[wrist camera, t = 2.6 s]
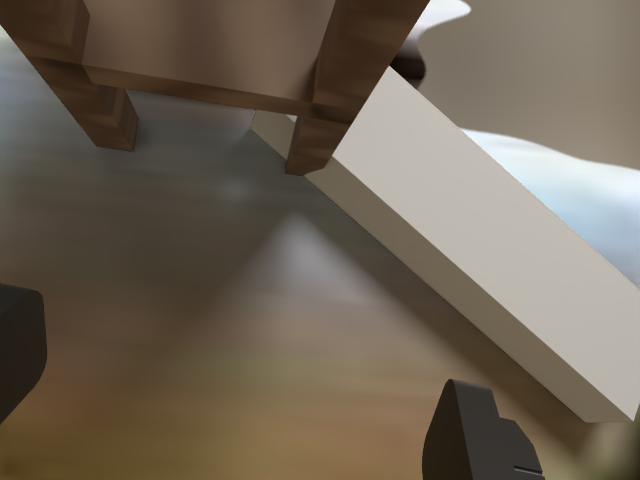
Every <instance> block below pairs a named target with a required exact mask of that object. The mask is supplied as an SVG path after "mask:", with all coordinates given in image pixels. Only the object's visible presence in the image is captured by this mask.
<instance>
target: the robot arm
mask: <svg viewBox="0 0 640 480" xmlns="http://www.w3.org/2000/svg"><path fill="white" fill-rule="evenodd" d="M46 360H47V344H46V331H45V318H44V305H43V298H42V296H41V294H40V293H39V292H38V291H35V290H30V289H26V288H21V287H16V286H11V285H7V284H2V283H0V424H1V423H2V422H3V421H4V420H5V419H6V418H7V417H8V415H9V414H10V413H11V412H12V411H13V410H14V409H15V408H16V406H17V405H18V404H19V403H20V402H21V401H22V400H23V399H24V398H25V396H26V395H27V394H28V393H29V392H30V391H31V390H32V389H33V387H34V386H35V385H36V384H37V382H38V381H39V379H40V377H41V375H42V373H43V371H44V368H45V365H46ZM422 473H423V480H545V477H543V476H542V469H541V466H540V463H539V460H538V457H537V454H536V451H535V449H534V446H533V444H532V443H531V441H530V440H529V439H528V438H527V436H526V435H525V434H524V432H523V431H522V430H521V428H520V427H519V426H518V425H517V423H516V422H515V421H514V420H509V419H504V418H500V417H499V414H498V410H497V407H496V403H495V400H494V396H493V393H492V390H491V389H490V388H489V387H487V386H482V385H477V384H473V383H468V382H463V381H458V380H454V379H449V380H448V381H447V382H446V384H445V386H444V389H443V391H442V394H441V397H440V399H439V402H438V405H437V408H436V410H435V413H434V416H433V418H432V421H431V424H430V427H429V429H428V432H427V435H426V438H425V442H424V448H423V456H422Z"/></svg>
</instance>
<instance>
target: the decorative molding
mask: <svg viewBox="0 0 640 480" xmlns="http://www.w3.org/2000/svg"><path fill="white" fill-rule="evenodd" d="M296 118H297V116H293V115H287V114H280V113H274V112H268V111H262V110H256V113H255V115H254V118H253V120H252V123H251V125H250V128H251V129H252V130H253V131H254V132H255V133H256V134H257V135H258V136H260V137H261V138H262V139H263V140H264V141H265V142H266V143H267V144H269V145H270V146H271V147H272V148H273V149H274V150H275V151H277V152H278V153H279V154H280V155H281V156H282V157H283V158H284V159H286V160H287V158H288V153H289V149H290V145H291V140H292V136H293V132H294V127H295V122H296ZM304 176H305V177H306V178H307V179H308V180H309V181H310V182H312V183H313V184H314V185H315V186H316V187H317V188H319V189H320V190H321V191H322V192H323V193H324V194H325V195H327V196H328V197H329V198H330V199H331V200H332V201H333V202H335V203H336V204H337V205H338V206H339V207H340V208H341V209H343V210H344V211H345V212H346V213H347V214H348V215H349V216H351V217H352V218H353V219H354V220H355V221H356V222H357V223H359V224H360V225H361V226H362V227H363V228H364V229H365V230H367V231H368V232H369V233H370V234H371V235H372V236H373V237H375V238H376V239H377V240H378V241H379V242H380V243H381V244H382V245H384V246H385V247H386V248H387V249H388V250H389V251H390V252H392V253H393V254H394V255H395V256H396V257H397V258H398V259H399V260H401V261H402V262H403V263H404V264H405V265H406V266H407V267H409V268H410V269H411V270H412V271H413V272H414V273H415V274H416V275H418V276H419V277H420V278H421V279H422V280H423V281H424V282H426V283H427V284H428V285H429V286H430V287H431V288H432V289H434V290H435V291H436V292H437V293H438V294H439V295H441V296H442V297H443V298H444V299H445V300H446V301H447V302H449V303H450V304H451V305H452V306H453V307H454V308H455V309H457V310H458V311H459V312H460V313H461V314H462V315H463V316H465V317H466V318H467V319H468V320H469V321H470V322H471V323H472V324H474V325H475V326H476V327H477V328H478V329H479V330H480V331H482V332H483V333H484V334H485V335H486V336H487V337H488V338H490V339H491V340H492V341H493V342H494V343H495V344H496V345H498V346H499V347H500V348H501V349H502V350H503V351H504V352H505V353H507V354H508V355H509V356H510V357H511V358H512V359H513V360H514V361H516V362H517V363H518V364H519V365H520V366H521V367H522V368H524V369H525V370H526V371H527V372H528V373H529V374H530V375H531V376H533V377H534V378H535V379H536V380H537V381H538V382H539V383H541V384H542V385H543V386H544V387H545V388H546V389H548V390H549V391H550V392H551V393H552V394H553V395H554V396H556V397H557V398H558V399H559V400H560V401H561V402H562V403H564V404H565V405H566V406H567V407H568V408H569V409H570V410H572V411H573V412H574V413H575V414H576V415H577V416H578V417H580V418H581V419H582V420H583V421H584V422H587V423H599V422H629V421H634V418H635V415H636V412H637V409H638V406H639V403H640V290H639V289H638V288H637V287H636V286H635V285H634V284H633V283H632V282H631V281H629V280H628V279H627V278H626V277H625V276H624V275H623V274H622V273H620V272H619V271H618V270H617V269H616V268H615V267H614V266H613V265H611V264H610V263H609V262H608V261H607V260H606V259H605V258H604V257H603V256H601V255H600V254H599V253H598V252H597V251H596V250H595V249H594V248H592V247H591V246H590V245H589V244H588V243H587V242H586V241H585V240H584V239H582V238H581V237H580V236H579V235H578V234H577V233H576V232H575V231H573V230H572V229H571V228H570V227H569V226H568V225H567V224H566V223H564V222H563V221H562V220H561V219H560V218H559V217H558V216H557V215H556V214H554V213H553V212H552V211H551V210H550V209H549V208H548V207H547V206H545V205H544V204H543V203H542V202H541V201H540V200H539V199H538V198H537V197H535V196H534V195H533V194H532V193H531V192H530V191H529V190H528V189H526V188H525V187H524V186H523V185H522V184H521V183H520V182H519V181H517V180H516V179H515V178H514V177H513V176H512V175H511V174H510V173H509V172H507V171H506V170H505V169H504V168H503V167H502V166H501V165H500V164H498V163H497V162H496V161H495V160H494V159H493V158H492V157H491V156H490V155H488V154H487V153H486V152H485V151H484V150H483V149H482V148H481V147H479V146H478V145H477V144H476V143H475V142H474V141H473V140H472V139H470V138H469V137H468V136H467V135H466V134H465V133H464V132H463V131H462V130H460V129H459V128H458V127H457V126H456V125H455V124H454V123H453V122H451V121H450V120H449V119H448V118H447V117H446V116H445V115H444V114H443V113H441V112H440V111H439V110H438V109H437V108H436V107H435V106H433V105H432V104H431V103H430V102H429V101H428V100H427V99H426V98H425V97H423V96H422V95H421V94H420V93H419V92H418V91H417V90H416V89H415V88H413V87H412V86H411V85H410V84H409V83H408V82H407V81H406V80H404V79H403V78H402V77H401V76H400V75H399V74H398V73H397V72H395V71H394V70H393V69H392V68H391V67H390V66H388V68H387V69H386V71H385V73H384V74H383V76H382V77H381V79H380V80H379V82H378V84H377V85H376V87H375V88H374V90H373V92H372V93H371V95H370V96H369V98H368V99H367V101H366V103H365V104H364V106H363V107H362V109H361V110H360V112H359V114H358V115H357V117H356V118H355V120H354V122H353V123H352V125H351V126H350V128H349V129H348V131H347V133H346V134H345V136H344V137H343V139H342V141H341V142H340V144H339V145H338V147H337V148H336V150H335V152H334V153H333V155H332V156H331V158H330V160H329V161H328V163H327V164H326V166H325V167H324V168H323V169H320V170H317V171H314V172H311V173H308V174H305V175H304Z"/></svg>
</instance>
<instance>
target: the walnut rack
mask: <svg viewBox="0 0 640 480" xmlns="http://www.w3.org/2000/svg"><path fill="white" fill-rule="evenodd" d="M429 1H430V0H0V25H1V26H2V27H3V29H4V30H5V31H6V32H7V34H8V35H9V36H10V37H11V39H12V40H13V41H14V42H15V44H16V45H17V46H18V47H19V49H20V50H21V51H22V53H23V54H24V55H25V56H26V58H27V59H28V60H29V61H30V63H31V64H32V65H33V66H34V68H35V69H36V70H37V71H38V73H39V74H40V75H41V77H42V78H43V79H44V80H45V82H46V83H47V84H48V85H49V87H50V88H51V89H52V90H53V92H54V93H55V94H56V95H57V97H58V98H59V99H60V101H61V102H62V103H63V104H64V106H65V107H66V108H67V109H68V111H69V112H70V113H71V114H72V116H73V117H74V118H75V119H76V121H77V122H78V123H79V125H80V126H81V127H82V128H83V130H84V131H85V132H86V133H87V135H88V136H89V137H90V138H91V140H92V141H93V142H94V144H95V145H96V146H98V147H105V148H112V149H119V150H126V151H133V150H134V144H135V138H136V132H137V125H138V119H139V118H138V116H137V114H136V112H135V110H134V108H133V106H132V103H131V101H130V99H129V97H128V95H127V93H126V91H125V89H131V90H138V91H144V92H150V93H156V94H162V95H169V96H175V97H181V98H187V99H193V100H200V101H206V102H212V103H218V104H225V105H231V106H237V107H243V108H249V109H256V110H262V111H268V112H274V113H280V114H287V115H293V116H297V118H296V122H295V127H294V132H293V136H292V140H291V145H290V149H289V153H288V158H287V162H286V170H285V173H287V174H294V175H301V176H304V175H305V174H308V173H311V172H314V171H317V170H320V169H323V168H324V167H325V166H326V164H327V163H328V161H329V160H330V158H331V156H332V155H333V153H334V152H335V150H336V148H337V147H338V145H339V144H340V142H341V141H342V139H343V137H344V136H345V134H346V133H347V131H348V129H349V128H350V126H351V125H352V123H353V122H354V120H355V118H356V117H357V115H358V114H359V112H360V110H361V109H362V107H363V106H364V104H365V103H366V101H367V99H368V98H369V96H370V95H371V93H372V92H373V90H374V88H375V87H376V85H377V84H378V82H379V80H380V79H381V77H382V76H383V74H384V73H385V71H386V69H387V68H388V66H389V65H390V63H391V61H392V60H393V58H394V57H395V55H396V54H397V52H398V50H399V49H400V47H401V46H402V44H403V42H404V41H405V39H406V38H407V36H408V35H409V33H410V31H411V30H412V28H413V27H414V25H415V23H416V22H417V20H418V19H419V17H420V16H421V14H422V12H423V11H424V9H425V8H426V6H427V5H428V3H429Z"/></svg>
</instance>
